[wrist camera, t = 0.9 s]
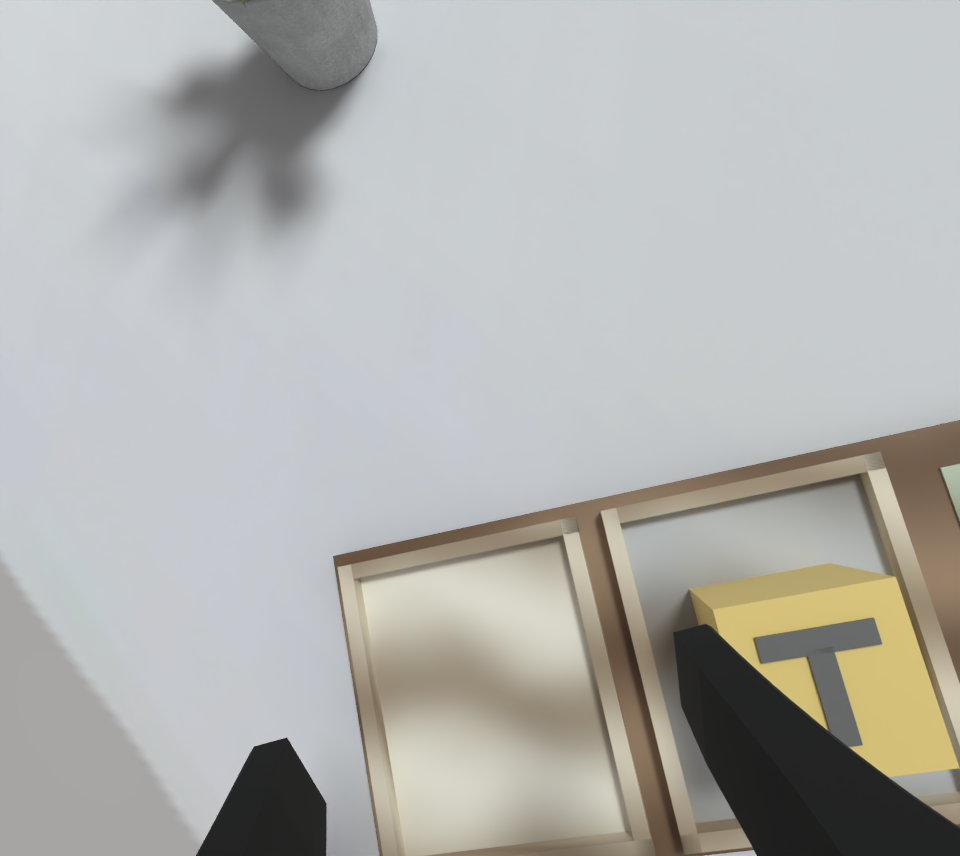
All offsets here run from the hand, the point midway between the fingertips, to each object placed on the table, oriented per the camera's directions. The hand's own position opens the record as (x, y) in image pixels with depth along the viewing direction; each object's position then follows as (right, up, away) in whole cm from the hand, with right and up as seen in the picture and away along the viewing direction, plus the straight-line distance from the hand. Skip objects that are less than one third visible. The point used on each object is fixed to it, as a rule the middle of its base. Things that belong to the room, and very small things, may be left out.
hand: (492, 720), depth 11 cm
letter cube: (+11, -2, +10) cm, 15 cm away
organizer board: (+10, -3, +11) cm, 15 cm away
